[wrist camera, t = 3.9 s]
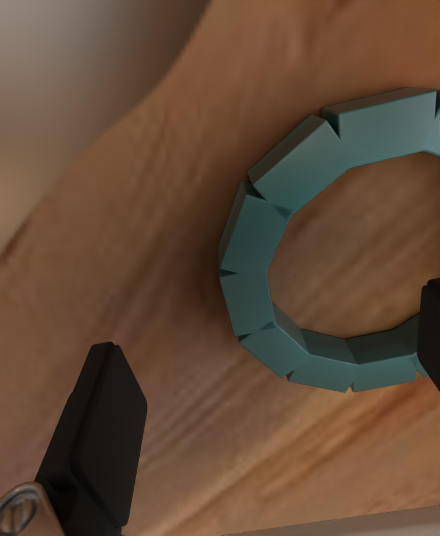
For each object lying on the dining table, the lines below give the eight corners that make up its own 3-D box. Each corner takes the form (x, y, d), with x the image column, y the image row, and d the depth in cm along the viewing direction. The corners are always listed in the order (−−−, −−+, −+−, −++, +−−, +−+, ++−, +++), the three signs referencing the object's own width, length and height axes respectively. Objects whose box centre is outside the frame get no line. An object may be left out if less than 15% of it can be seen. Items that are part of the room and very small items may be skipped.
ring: (249, 382, 19) (253, 411, 17) (187, 140, 13) (185, 149, 11) (494, 336, 18) (522, 362, 16) (553, 51, 12) (607, 48, 10)
